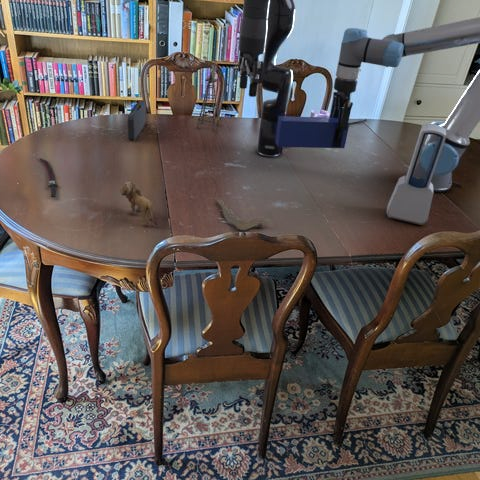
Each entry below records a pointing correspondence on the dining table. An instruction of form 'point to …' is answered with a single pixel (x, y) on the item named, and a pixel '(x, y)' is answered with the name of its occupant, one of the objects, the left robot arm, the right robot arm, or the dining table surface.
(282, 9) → the left robot arm
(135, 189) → the lion figurine
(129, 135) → the handheld gaming console
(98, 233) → the dining table surface
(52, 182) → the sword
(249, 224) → the jawbone
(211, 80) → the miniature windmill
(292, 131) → the bar
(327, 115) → the clip
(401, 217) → the electronic device
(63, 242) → the dining table surface
